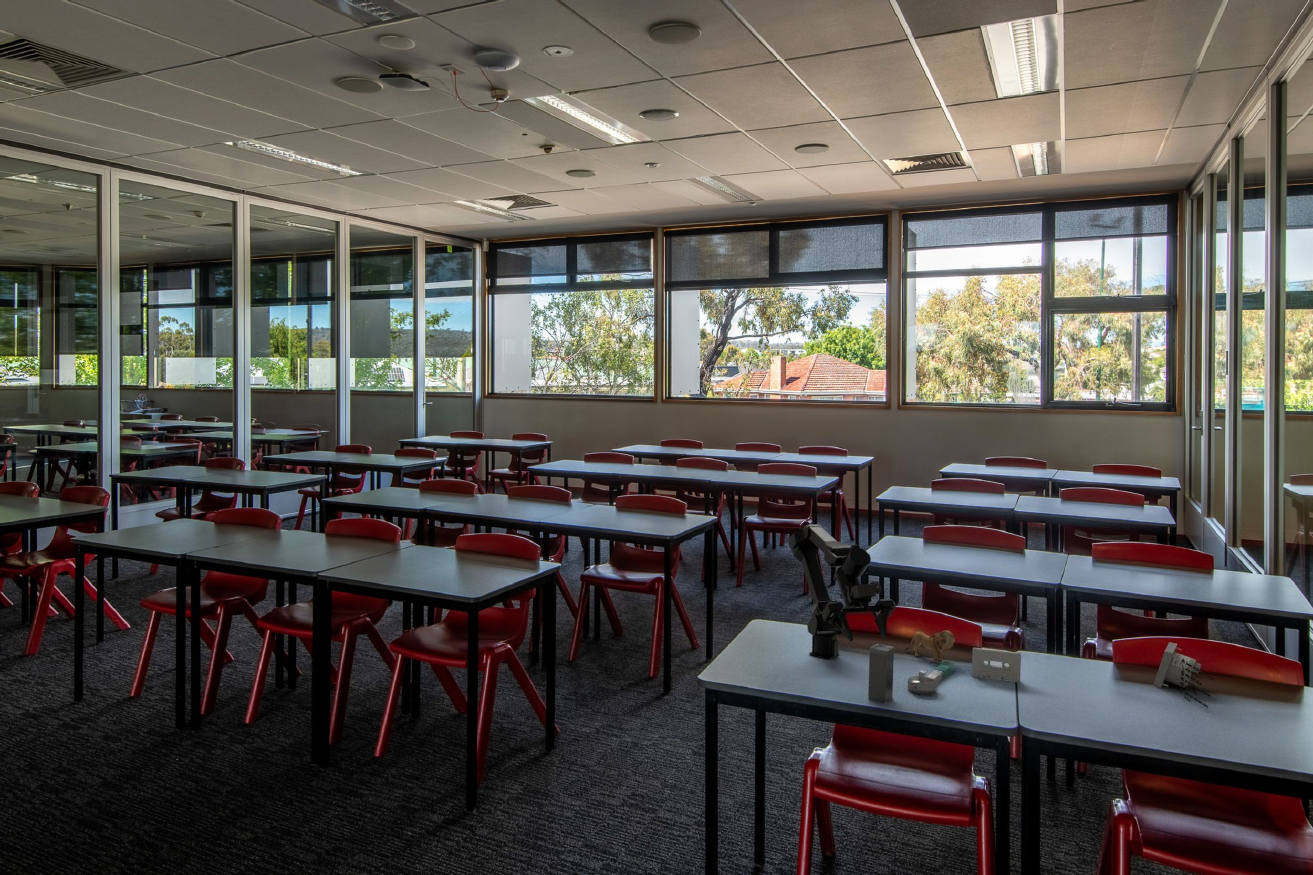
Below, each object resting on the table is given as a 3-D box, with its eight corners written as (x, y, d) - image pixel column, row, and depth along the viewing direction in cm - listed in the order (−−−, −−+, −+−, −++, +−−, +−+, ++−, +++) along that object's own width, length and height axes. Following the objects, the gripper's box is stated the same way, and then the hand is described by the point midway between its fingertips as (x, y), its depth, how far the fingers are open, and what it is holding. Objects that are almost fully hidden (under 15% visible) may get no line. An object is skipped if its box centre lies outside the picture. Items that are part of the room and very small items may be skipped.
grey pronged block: (1137, 676, 223) (1139, 640, 222) (1181, 677, 223) (1183, 641, 222) (1197, 716, 197) (1200, 675, 196) (1247, 717, 196) (1249, 676, 195)
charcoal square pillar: (868, 699, 205) (869, 647, 204) (875, 693, 209) (877, 643, 208) (885, 703, 202) (886, 651, 201) (892, 698, 206) (893, 646, 205)
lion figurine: (957, 661, 233) (958, 630, 232) (948, 666, 229) (949, 634, 229) (908, 649, 243) (909, 619, 243) (899, 653, 240) (900, 623, 239)
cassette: (1019, 680, 219) (1021, 652, 218) (1020, 683, 217) (1021, 654, 217) (971, 674, 223) (972, 646, 223) (971, 676, 221) (972, 648, 221)
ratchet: (903, 691, 211) (903, 672, 210) (936, 666, 229) (937, 648, 229) (930, 698, 206) (931, 678, 206) (962, 671, 225) (963, 653, 225)
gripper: (827, 571, 213) (845, 626, 203) (893, 568, 217) (914, 622, 207) (814, 594, 221) (830, 647, 211) (878, 590, 226) (897, 643, 216)
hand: (868, 639), depth 211 cm, fingers open, 9 cm apart
